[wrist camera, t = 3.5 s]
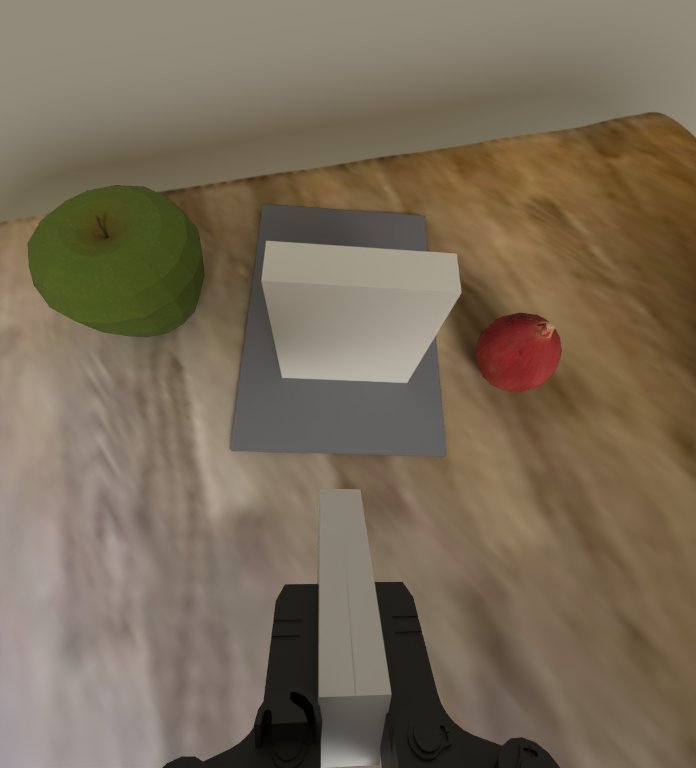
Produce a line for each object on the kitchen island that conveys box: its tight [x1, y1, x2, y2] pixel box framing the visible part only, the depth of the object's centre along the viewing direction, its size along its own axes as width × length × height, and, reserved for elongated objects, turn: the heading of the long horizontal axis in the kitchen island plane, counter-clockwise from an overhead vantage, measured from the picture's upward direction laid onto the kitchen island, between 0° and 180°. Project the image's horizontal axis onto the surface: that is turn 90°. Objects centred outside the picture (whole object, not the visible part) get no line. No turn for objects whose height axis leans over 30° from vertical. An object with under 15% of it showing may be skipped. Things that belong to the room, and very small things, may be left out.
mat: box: [230, 204, 446, 457], centre depth 32 cm, size 24×16×1 cm, turn 179°
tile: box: [261, 241, 462, 383], centre depth 24 cm, size 3×10×12 cm, turn 89°
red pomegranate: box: [476, 313, 562, 392], centre depth 28 cm, size 6×6×8 cm
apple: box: [28, 185, 204, 337], centre depth 26 cm, size 11×10×10 cm
